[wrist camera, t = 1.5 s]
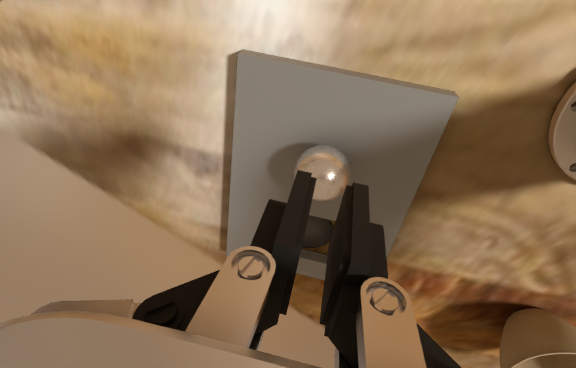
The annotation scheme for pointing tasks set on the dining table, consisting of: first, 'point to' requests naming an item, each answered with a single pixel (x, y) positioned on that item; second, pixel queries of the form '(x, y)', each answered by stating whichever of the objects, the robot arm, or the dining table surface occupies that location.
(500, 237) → the dining table surface
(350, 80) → the grey flat plate
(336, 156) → the ball
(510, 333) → the flower pot
